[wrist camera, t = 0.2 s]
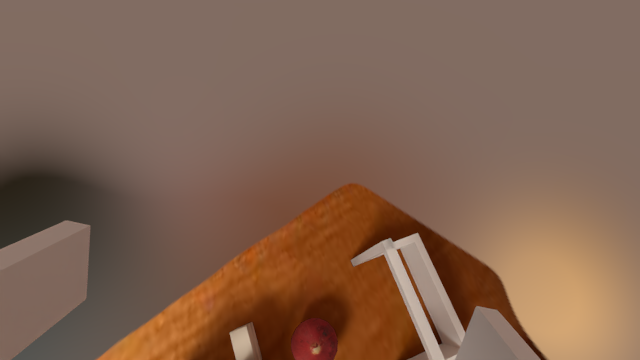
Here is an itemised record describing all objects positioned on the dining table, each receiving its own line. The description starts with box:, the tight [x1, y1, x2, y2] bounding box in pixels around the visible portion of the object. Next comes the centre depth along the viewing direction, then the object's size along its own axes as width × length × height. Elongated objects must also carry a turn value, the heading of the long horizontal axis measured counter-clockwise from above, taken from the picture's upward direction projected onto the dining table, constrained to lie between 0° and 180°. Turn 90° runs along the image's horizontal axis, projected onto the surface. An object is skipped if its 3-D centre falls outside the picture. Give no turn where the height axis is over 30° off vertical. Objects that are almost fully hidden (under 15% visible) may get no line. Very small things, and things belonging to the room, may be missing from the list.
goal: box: [351, 233, 465, 360], centre depth 36 cm, size 16×9×17 cm, turn 20°
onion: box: [291, 318, 338, 360], centre depth 38 cm, size 6×6×8 cm
